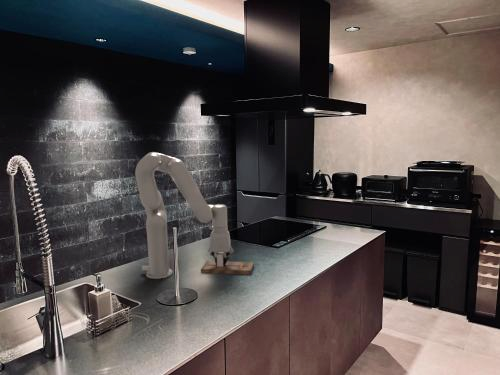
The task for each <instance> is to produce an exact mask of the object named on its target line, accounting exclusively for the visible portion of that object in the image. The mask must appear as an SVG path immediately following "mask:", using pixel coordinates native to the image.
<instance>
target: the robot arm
mask: <svg viewBox="0 0 500 375" xmlns="http://www.w3.org/2000/svg"><path fill="white" fill-rule="evenodd" d="M155 171H159V172H161V173H165V174H169V176H170V177H171V179H172V180H173V182H174V184H175V185H176V187H177V189H178V190H179V192H180V193H181V195H182V197H183V198H184V199H185V201H186V202H187V204H188V206H189V207H190V210H192V212H193V213H194V215H195V217H196V219H197V220H198V222H200V223H203V224H207V223H210V222H212V224H211V225H212V226H209V230H211V232H210V237H209V247H208V249H207V252H208V253H209V254H211V255H212V256H214V261H215V263H216V265H217V254H218V252H224V258H223V265H225V264H226V263H227V262H228V260H227V259H228V258H227V256H228V255H232V253H234V251H235V250H234V249H233V247H232V244H231V235H230V231H229V230H228V208H227V207H228V206H227V205H226V204H208V203H207V202H206V200H205V198H204V196H203V195H202V193H201V191H200V188H199V186H198V184H197V183H196V181H195V180H194V178H193V176H192V174H191V173H190V172H189V170H188V168H187V166H186V165H185V163H184V161H183V160H182V159H180V158H176V157H172V156H169V155H166V154H163V153H159V152H157V151H156V152H155V151H152V152H148V153H147V154H145V155H144V156H143V157H142V158H141V159H140V160H139V161H138V162H137V165H136V167H135V172H134V174H135V180H136V183H137V189H138V193H139V197H140V202H141V205H142V206H143V207H144V210H145V214H146V220H145V221H146V222H145V230H146V236H147V253H148V254H147V255H148V256H147V257H148V265H141V270H142V272H146V274H145V275H146V278H148V279H153V280H162V279H165V278H168V277H171V276H172V274H173V269H171V268H170V261H169V245H168V223H167V222H168V215H167V211H166V207H165V204H164V200H163V196H162V193H161V192H160V190H159V189H158V187H157V182H156V178H155ZM161 278H162V279H161Z"/></svg>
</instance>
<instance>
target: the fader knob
mask: <svg viewBox="0 0 500 375" xmlns="http://www.w3.org/2000/svg"><path fill="white" fill-rule="evenodd" d="M223 258H224V252H219V253H218V254H217V266H218V267H223V266H224V265H223Z"/></svg>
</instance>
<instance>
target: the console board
mask: <svg viewBox="0 0 500 375" xmlns="http://www.w3.org/2000/svg"><path fill="white" fill-rule="evenodd" d="M254 262H255V261H253V262H252V261H227V263H226V264H225V265H224V266H223V267H218V266H217V265H216V263H215V260H214V261H213V260H206V261H205V263H204V264H203V265H202V267H201V268H200V273H201V274H222V275H249V276H250V275H252V273H253V269H254V264H255V263H254Z"/></svg>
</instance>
